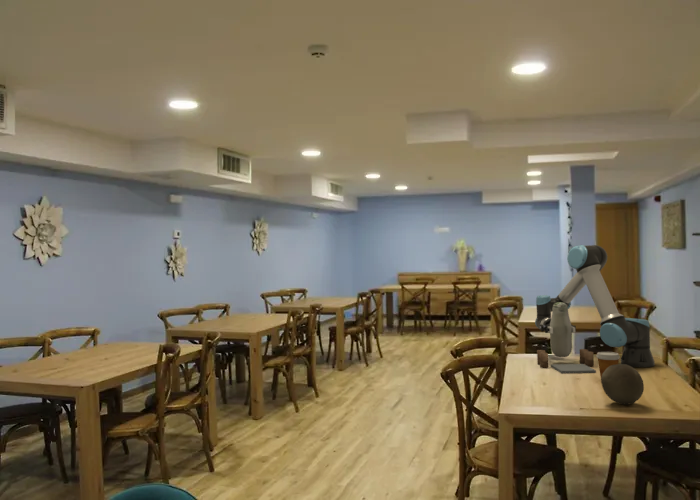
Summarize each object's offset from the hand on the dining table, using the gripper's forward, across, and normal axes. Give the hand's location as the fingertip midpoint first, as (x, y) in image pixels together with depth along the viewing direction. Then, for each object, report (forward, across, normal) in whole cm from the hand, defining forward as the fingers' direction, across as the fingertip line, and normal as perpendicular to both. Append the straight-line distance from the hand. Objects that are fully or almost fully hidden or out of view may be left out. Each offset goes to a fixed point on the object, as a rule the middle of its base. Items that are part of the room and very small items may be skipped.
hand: (563, 330), depth 289 cm
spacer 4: (+3, -11, -18) cm, 21 cm away
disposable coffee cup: (+35, -7, -18) cm, 40 cm away
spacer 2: (+4, +12, -18) cm, 21 cm away
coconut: (+75, +4, -19) cm, 77 cm away
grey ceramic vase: (-4, 0, -14) cm, 15 cm away
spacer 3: (-4, -11, -18) cm, 21 cm away
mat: (+11, 0, -18) cm, 21 cm away
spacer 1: (-4, +10, -18) cm, 21 cm away
